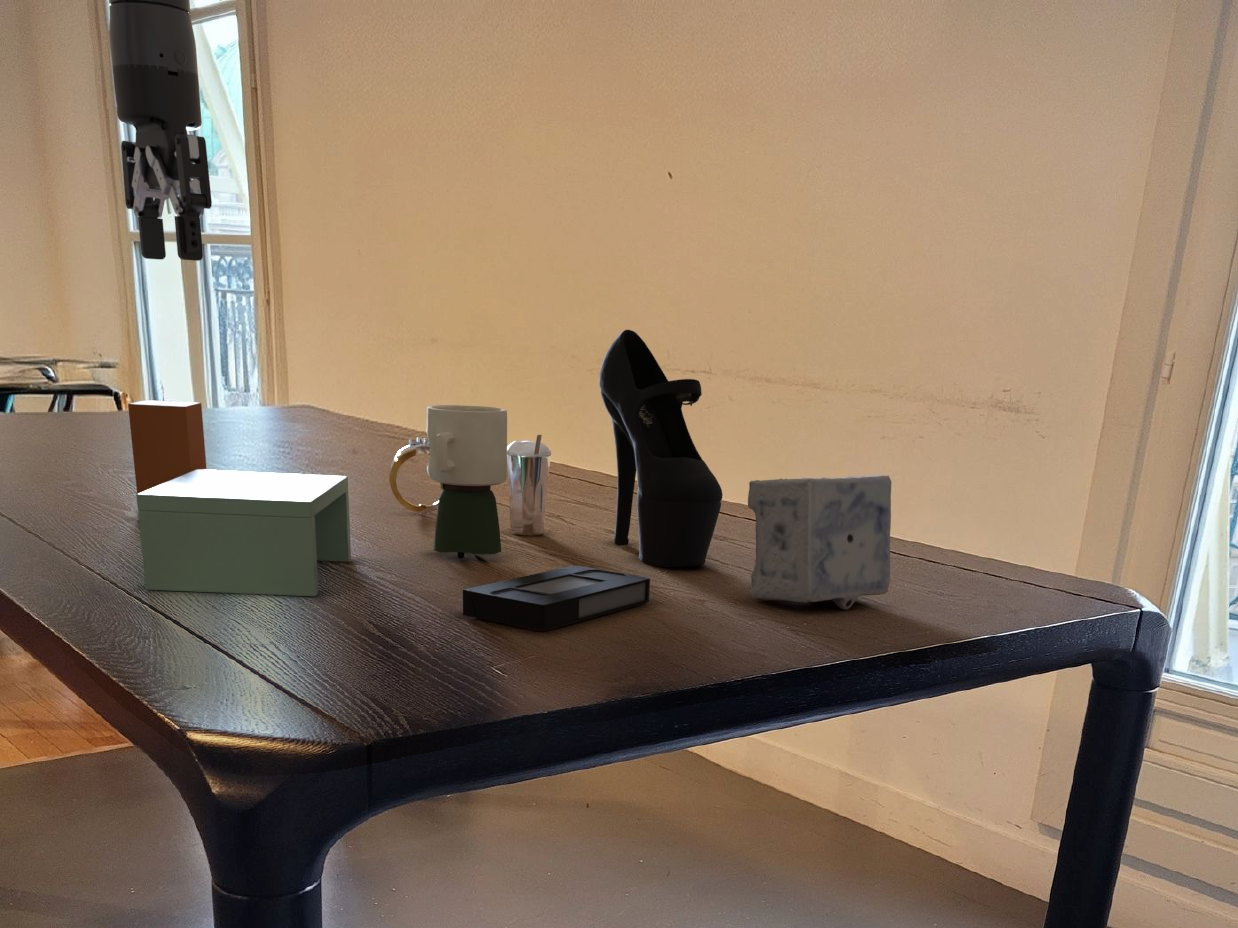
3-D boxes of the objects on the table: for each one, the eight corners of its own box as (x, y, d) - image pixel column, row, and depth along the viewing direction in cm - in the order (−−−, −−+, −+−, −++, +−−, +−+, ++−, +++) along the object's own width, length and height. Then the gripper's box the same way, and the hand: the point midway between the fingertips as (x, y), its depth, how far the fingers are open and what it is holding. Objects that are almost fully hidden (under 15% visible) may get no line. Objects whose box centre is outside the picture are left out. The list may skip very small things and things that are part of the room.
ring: (454, 512, 142) (453, 437, 139) (455, 517, 139) (455, 440, 136) (390, 511, 141) (388, 435, 138) (390, 515, 138) (388, 438, 135)
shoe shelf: (145, 589, 99) (135, 494, 96) (203, 553, 113) (196, 469, 111) (315, 596, 99) (311, 501, 97) (351, 559, 114) (347, 476, 111)
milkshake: (516, 538, 128) (517, 434, 124) (499, 529, 133) (499, 429, 129) (558, 537, 130) (561, 434, 126) (540, 529, 134) (542, 429, 131)
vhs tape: (650, 603, 103) (651, 578, 102) (542, 632, 92) (543, 605, 91) (574, 589, 107) (575, 565, 106) (462, 616, 96) (462, 589, 95)
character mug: (459, 543, 124) (458, 402, 119) (526, 551, 122) (528, 407, 117) (404, 561, 114) (400, 408, 109) (476, 569, 112) (476, 414, 107)
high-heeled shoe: (680, 578, 113) (694, 335, 106) (574, 542, 128) (580, 327, 120) (751, 572, 118) (770, 338, 110) (641, 538, 132) (651, 330, 124)
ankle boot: (136, 519, 128) (124, 403, 123) (154, 511, 133) (143, 399, 129) (258, 525, 128) (250, 409, 124) (271, 516, 134) (264, 405, 129)
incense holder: (819, 587, 113) (832, 465, 109) (890, 606, 107) (906, 477, 103) (736, 597, 107) (746, 468, 103) (805, 617, 101) (819, 481, 97)
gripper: (85, 68, 121) (105, 256, 127) (146, 53, 111) (165, 257, 118) (163, 80, 126) (178, 261, 132) (228, 66, 116) (241, 262, 123)
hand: (172, 259), depth 125 cm, fingers open, 8 cm apart
